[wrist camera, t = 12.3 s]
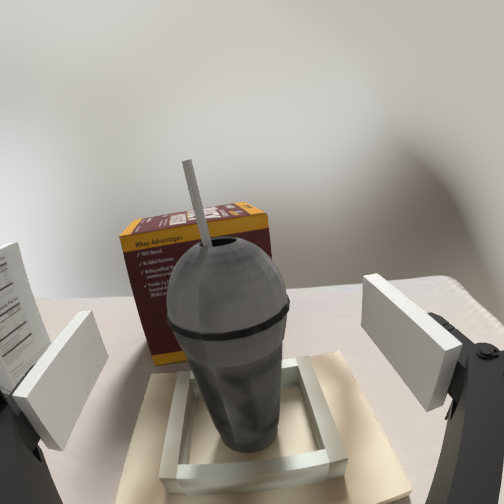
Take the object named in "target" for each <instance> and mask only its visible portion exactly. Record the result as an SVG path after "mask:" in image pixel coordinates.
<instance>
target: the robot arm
mask: <svg viewBox="0 0 504 504" xmlns="http://www.w3.org/2000/svg"><path fill="white" fill-rule="evenodd" d="M361 326H362V328H363V329H364V330H365V331H366V333H367V334H368V335H369V337H370V338H371V339H372V340H373V342H374V343H375V344H376V345H377V347H378V348H379V349H380V351H381V352H382V353H383V355H384V356H385V357H386V358H387V360H388V361H389V362H390V364H391V365H392V366H393V368H394V369H395V370H396V372H397V373H398V374H399V375H400V377H401V378H402V379H403V381H404V382H405V383H406V385H407V386H408V387H409V389H410V390H411V391H412V393H413V394H414V396H415V397H416V398H417V400H418V401H419V402H420V404H421V405H422V406H423V408H424V409H425V410H426V412H428V411H431V410H433V409H435V408H437V407H440V406H442V405H443V404H444V401H445V399H446V396H447V393H448V394H449V395H450V396H451V397H452V399H453V400H452V403H451V405H450V408H449V410H448V412H447V415H446V417H445V420H447V419H448V421H447V426H446V431H445V436H444V440H443V445H442V449H441V453H440V457H439V461H438V465H437V468H436V472H435V475H434V479H433V482H432V485H431V488H430V491H429V494H428V497H427V500H426V503H425V504H498V499H499V493H500V487H501V479H502V471H503V461H504V351H500V350H499V349H498V348H497V347H495V346H493V345H492V344H488V343H477V344H474V343H473V342H472V341H470V340H469V339H468V338H467V337H466V336H465V335H463V334H462V333H461V332H460V331H459V330H457V329H455V327H454V326H452V325H451V324H449V322H448V321H446V320H445V319H444V318H443V317H441V316H439V315H436V314H434V313H432V312H431V313H426V312H425V311H423V310H422V309H421V308H420V307H418V306H417V305H416V304H415V303H414V302H412V301H411V300H410V299H409V298H407V297H406V296H405V295H404V294H402V293H401V292H400V291H399V290H397V289H396V288H395V287H394V286H392V285H391V284H390V283H389V282H387V281H386V280H385V279H383V278H382V277H381V276H380V275H378V274H372V275H366V276H363V298H362V319H361ZM107 359H108V354H107V352H106V349H105V347H104V344H103V341H102V338H101V336H100V333H99V330H98V327H97V324H96V322H95V319H94V316H93V313H92V310H90V311H79V312H78V313H77V315H76V316H75V317H74V318H73V319H72V320H71V321H70V323H69V324H68V325H67V326H66V327H65V328H64V330H63V331H62V332H61V333H60V334H59V336H58V337H57V338H56V339H55V340H54V342H53V343H52V344H51V345H50V347H49V348H48V349H47V350H46V351H45V353H44V354H43V355H42V356H41V358H40V359H39V360H38V361H37V362H36V363H35V364H34V365H32V366H31V367H30V368H29V369H28V371H27V372H26V373H25V376H23V377H22V378H21V380H20V382H18V384H17V385H16V386H15V388H14V389H13V390H12V392H11V393H10V394H9V396H8V397H7V399H6V398H5V396H4V394H3V393H2V391H1V389H0V504H63V503H62V500H61V498H60V496H59V494H58V491H57V489H56V487H55V484H54V482H53V479H52V477H51V474H50V472H49V469H48V466H47V464H46V461H45V458H44V455H43V452H42V450H41V448H40V447H39V446H38V442H39V440H40V438H41V440H42V441H43V442H44V444H45V445H46V446H47V448H49V449H53V450H58V451H63V450H64V448H65V446H66V443H67V441H68V439H69V437H70V434H71V432H72V430H73V428H74V426H75V423H76V421H77V419H78V417H79V415H80V413H81V411H82V409H83V406H84V404H85V402H86V400H87V398H88V396H89V394H90V392H91V390H92V388H93V386H94V384H95V382H96V380H97V378H98V376H99V374H100V372H101V370H102V369H103V367H104V365H105V363H106V361H107Z"/></svg>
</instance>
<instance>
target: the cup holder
mask: <svg viewBox="0 0 504 504" xmlns="http://www.w3.org/2000/svg"><path fill="white" fill-rule="evenodd" d="M412 490H413V489H412V487H411V485H410V483H409V481H408V479H407V477H406V475H405V473H404V471H403V469H402V467H401V465H400V463H399V461H398V459H397V457H396V455H395V453H394V451H393V449H392V447H391V446H390V444H389V442H388V440H387V438H386V436H385V434H384V432H383V430H382V428H381V426H380V425H379V423H378V421H377V419H376V417H375V415H374V413H373V411H372V410H371V408H370V406H369V404H368V402H367V400H366V398H365V397H364V395H363V393H362V391H361V389H360V387H359V386H358V384H357V382H356V380H355V378H354V376H353V375H352V373H351V371H350V369H349V367H348V365H347V364H346V362H345V360H344V358H343V356H342V355H341V353H340V351H337V352H332V353H327V354H321V355H316V356H311V357H309V356H303V357H297V358H291V359H285V360H282V368H281V393H280V415H279V424H278V432H277V437H276V439H275V440H274V442H273V443H272V444H271V445H270V446H268V447H267V448H265V449H263V450H261V451H258V452H253V453H240V452H237V451H234V450H231V449H230V448H229V447H227V446H226V445H225V444H224V442H223V440H222V438H221V436H220V434H219V433H218V431H217V429H216V428H215V425H214V423H213V421H212V419H211V416H210V414H209V412H208V409H207V407H206V405H205V402H204V400H203V398H202V395H201V393H200V390H199V388H198V385H197V383H196V380H195V378H194V375H193V373H192V370H187V371H178V372H175V373H154V374H151V376H150V379H149V383H148V386H147V389H146V392H145V395H144V398H143V402H142V405H141V408H140V412H139V415H138V418H137V422H136V425H135V428H134V432H133V435H132V439H131V442H130V446H129V449H128V453H127V457H126V460H125V464H124V468H123V472H122V476H121V479H120V483H119V487H118V491H117V495H116V500H115V504H388V503H391V502H394V501H396V500H399V499H401V498H404V497H406V496H409V495H410V493H411V492H412Z"/></svg>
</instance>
